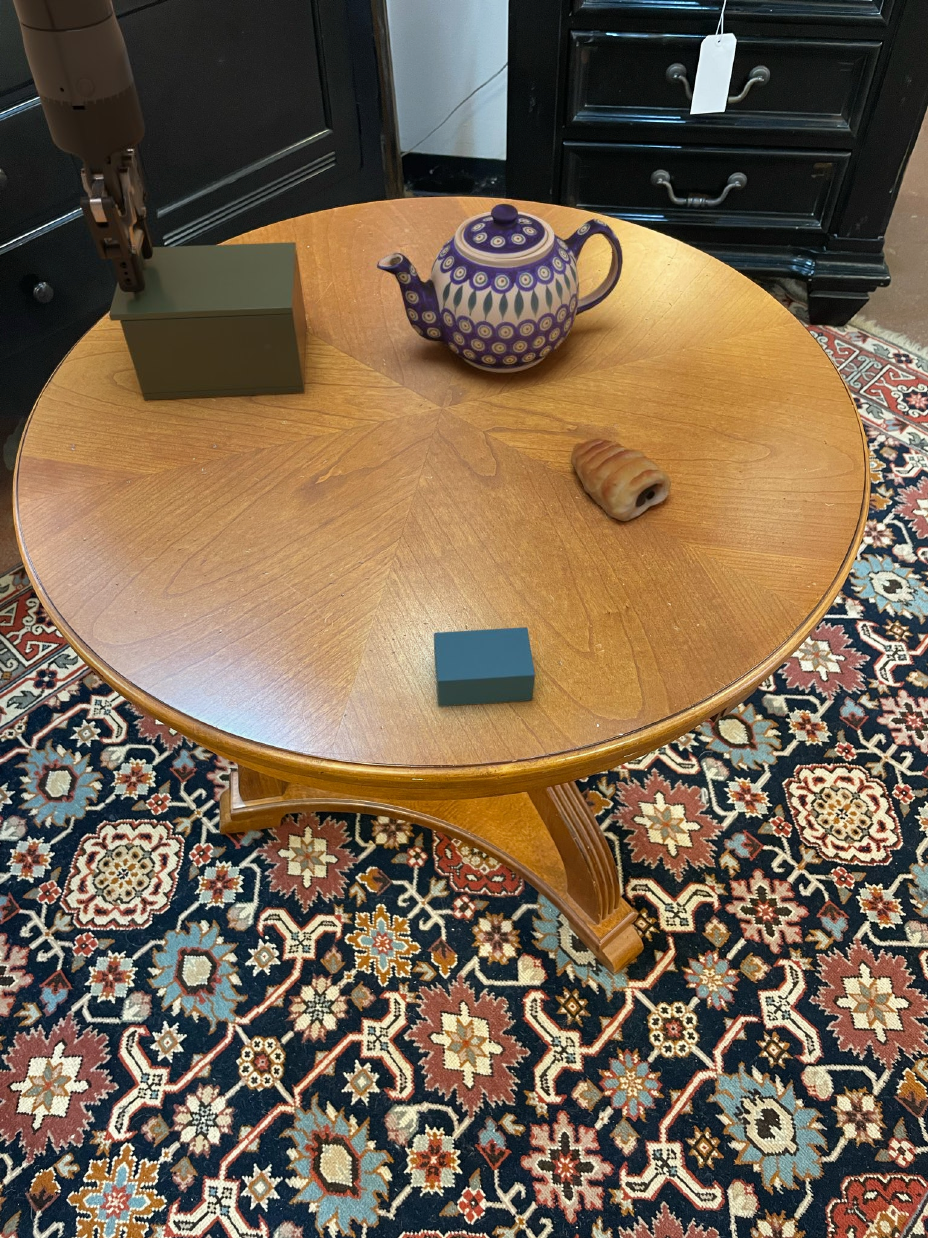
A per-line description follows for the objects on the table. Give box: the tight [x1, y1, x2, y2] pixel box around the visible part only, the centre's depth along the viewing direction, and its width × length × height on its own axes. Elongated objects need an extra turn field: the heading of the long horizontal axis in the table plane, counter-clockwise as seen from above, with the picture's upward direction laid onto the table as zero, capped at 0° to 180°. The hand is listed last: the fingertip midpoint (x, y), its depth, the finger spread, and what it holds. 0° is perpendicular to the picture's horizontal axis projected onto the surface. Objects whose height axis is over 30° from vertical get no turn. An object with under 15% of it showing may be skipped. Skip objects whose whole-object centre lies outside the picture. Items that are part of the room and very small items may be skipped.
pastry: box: [570, 437, 672, 522], centre depth 85 cm, size 9×7×4 cm
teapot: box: [376, 203, 624, 374], centre depth 94 cm, size 25×15×15 cm, turn 103°
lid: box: [108, 224, 297, 322], centre depth 89 cm, size 16×12×5 cm
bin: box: [119, 249, 308, 401], centre depth 94 cm, size 16×12×9 cm
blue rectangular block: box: [433, 626, 536, 707], centre depth 71 cm, size 7×4×3 cm, turn 95°
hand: (137, 272), depth 89 cm, fingers closed on lid, 5 cm apart
